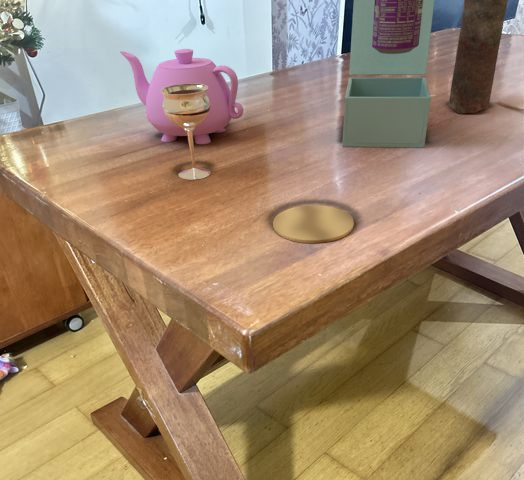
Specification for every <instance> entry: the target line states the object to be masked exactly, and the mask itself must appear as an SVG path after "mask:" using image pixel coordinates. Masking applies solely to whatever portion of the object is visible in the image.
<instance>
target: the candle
mask: <svg viewBox="0 0 524 480" xmlns="http://www.w3.org/2000/svg"><path fill="white" fill-rule="evenodd" d="M508 1H509V0H463V9H462V13H461V14H462V15H461V22H460V29H459V36H458V40H457V48H456V55H455V61H454V66H453V74H452V80H451V87H450V94H449V100H448V106H449V107H450V108H451V109H452V110H453V111H454V112H455V113H458V114H462V115H464V114H468V113H469V114H471V113H472V114H474V113H475V114H476V113H477V112H479V111H482V110H487V109H488V108H489V105H490V102H491V96H492V92H493V91H492V90H493V84H494V79H495V72H496V68H497V67H496V66H497V61H498V55H499V50H500V44H501V39H502V35H503V28H504V22H505V19H506V18H505V17H506V12H507V7H508Z"/></svg>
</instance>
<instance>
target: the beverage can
mask: <svg viewBox="0 0 524 480" xmlns="http://www.w3.org/2000/svg"><path fill="white" fill-rule="evenodd" d="M422 8H423V0H375V3H374V21H373V38H372V47H373V48H374V49H376V50H377V51H378V52H380V53H384V54H401V53H407V52H410V51H411V50H412V49H414V48H415V47H417V46H418V45H419V37H420V27H421V18H422Z"/></svg>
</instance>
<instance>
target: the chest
mask: <svg viewBox="0 0 524 480" xmlns="http://www.w3.org/2000/svg"><path fill="white" fill-rule="evenodd" d="M431 101H432V95H431V92H430V89H429V84H428V81H427V78H426V76H400V77H399V76H394V77H393V76H392V77H391V76H390V77H389V76H386V77H385V76H383V77H381V76H380V77H375V76H373V77H371V76H370V77H369V76H368V77H365V76H364V77H362V76H361V77H348V82H347V87H346V91H345V96H344V106H343V107H344V109H343V110H344V111H343V128H342V129H343V130H342V147H353V148H355V147H357V148H414V149H415V148H419V149H420V148H423V149H424V148H425V144H426V139H427V138H426V136H427V130H428V124H429V123H428V122H429V115H430V109H431V108H430V107H431Z"/></svg>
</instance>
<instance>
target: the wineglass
mask: <svg viewBox="0 0 524 480" xmlns="http://www.w3.org/2000/svg"><path fill="white" fill-rule="evenodd" d="M207 89H208V86H207V85H204V84H197V83H186V84H176V85H171V86H167V87H164V88H163V89H161V93H162V94H163V96H164V100H163V110H164V113H165V115H166V117H167V118H168V119H169V120H170V121H171V122H173V123H174V124H175V125H177V126H179V127H182V128H184V130H185V131H187V135H188V136H187V141H188V146H189V153H190V158H191V166H192V167H190V168H187V169H184V170H182V171H180V172H179V173H178V177H179V178H181V179H183V180H188V181H189V180H190V181H191V180H192V181H193V180H200V179H204V178H207V177H209V176H210V175H211V174H212V171H211V170H210V169H208V168H204V167H196V159H195V146H194V136H193V132H192V131H194V129H195V127H196V126H198V125H199V124H201V123H202V122H203V121H204V120H205V118H206V117H207V116H208V114H209V111H210V100H209V97H208V96H207V94H206V92H207Z"/></svg>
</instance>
